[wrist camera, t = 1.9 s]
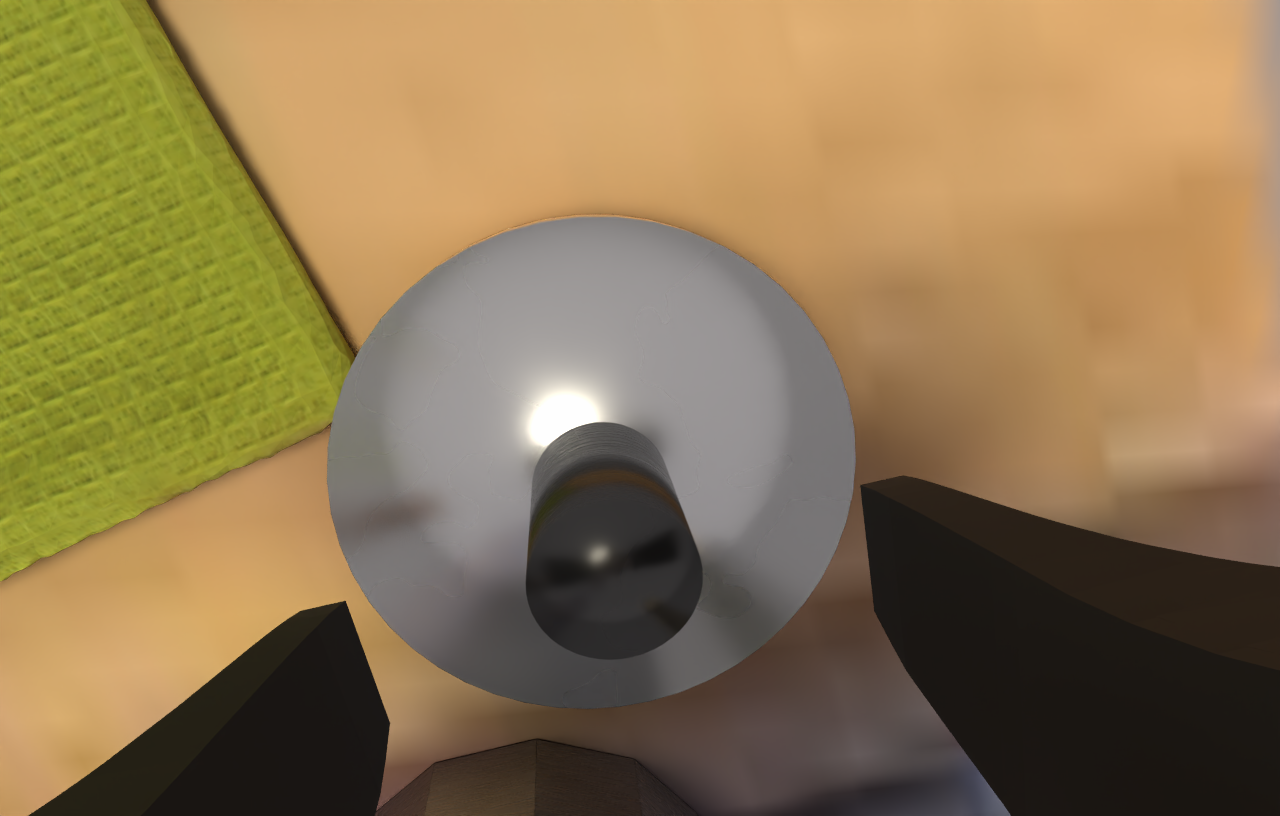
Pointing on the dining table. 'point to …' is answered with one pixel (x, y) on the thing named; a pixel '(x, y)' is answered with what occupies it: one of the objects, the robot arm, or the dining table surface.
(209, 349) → the dish towel
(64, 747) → the dining table surface
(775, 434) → the lid
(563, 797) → the cooker base
